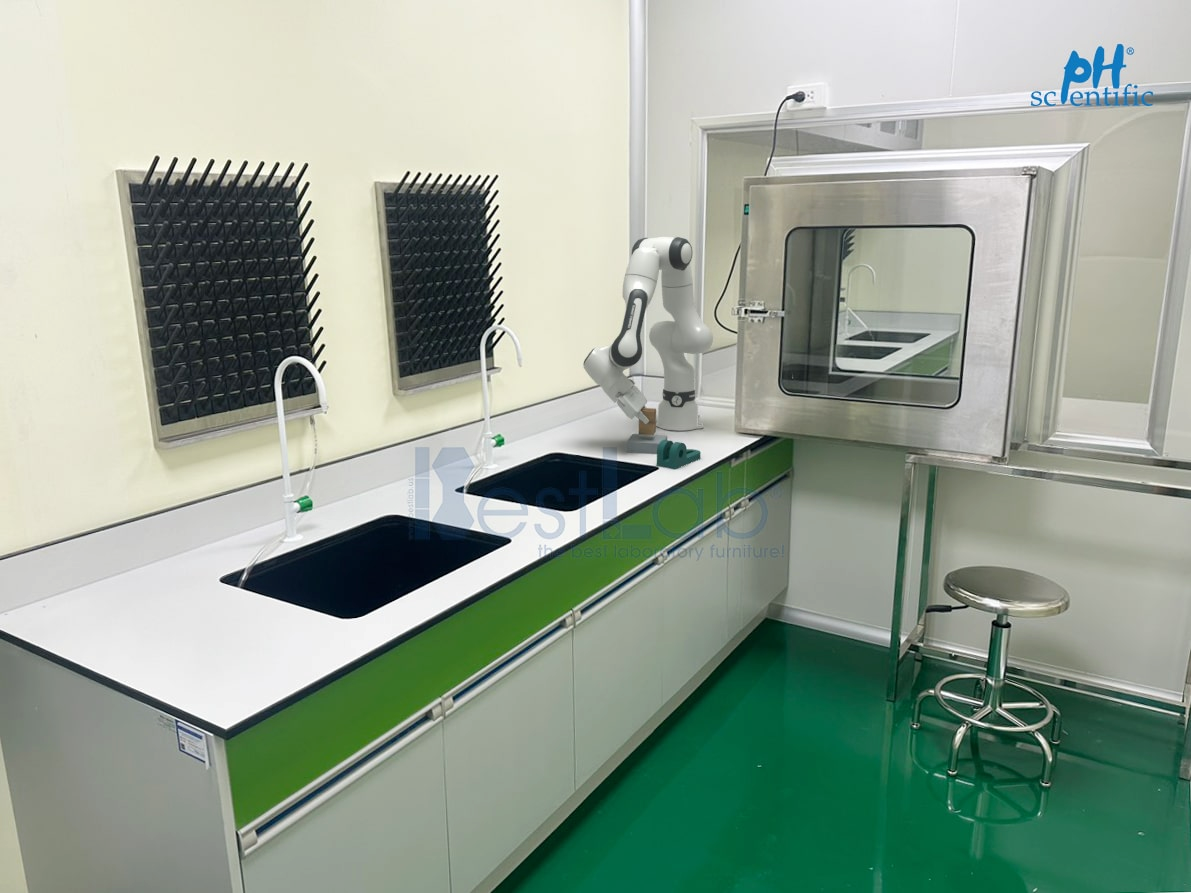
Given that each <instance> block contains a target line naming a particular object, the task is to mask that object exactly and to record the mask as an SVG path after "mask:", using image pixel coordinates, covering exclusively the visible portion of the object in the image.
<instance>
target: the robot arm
mask: <svg viewBox="0 0 1191 893" xmlns="http://www.w3.org/2000/svg"><path fill="white" fill-rule="evenodd" d="M692 259H693V247H692V244H691V243H690V241H689V240H688V239H686V238H683V237H679V236H678V237H677V236H676V237H674V236H673V237H672V236H658V237H643V238H639V239H637V240H636V242H635V243H634V244H633V246H632V248H631V257H630V259H629V261H628V264H627V267H626V271H625V275H624V277H623V283H622V298H623V300H624V303H625V313H624V317H623V320H622V325H621V330H620V333H619V334H618V336H617V337H616V338H615V339H614V340H613V342H612V343H610V344H609V345H606V346H602V347H594V348H592V349H591V350H590V352H589V353H588V355H587V356H586V357H585V358H584V361H583V369H584V370H585V372H586V374H588V376H589V377H590V379H592V380H593V382H594V383H595V384H596V385H598V386H600V387H601V388H602V390H603V392H604V393H605V394H606V396H607V397H609V399H611V401H613V403H614V404H615V403H616V404H617V406H618V407H619V408H620V410H621V411H622V412H623V413H624V414H625V415H626V417H627V418H629V419H631V420H632V419H633V418H634V417H636V418H637V419H638V420H639V419H640V420H641V421H643V423H644V424H647V423H648V422H649V419H648V418H647V417H646V416H645V415H644V414H642V412H641V411H640V410H641V409H642V408H648V407H647V406H646V404H647V403H648V399H647V397H646V396H645V395H644V394H643V393H642V391H641V390H640V389H639V388H638V386H636V383H635V381H633V379H631V378H628V377H627V375H625V374H624V372H625V370H627V369H629V368H631V367H632V366H635V365H636V364H637V363H638V362H639V361H640V360H641V357H642V355H643V346H642V345H643V344H642V339H641V332H642V328H643V323H644V318H645V314H646V311H647V308H648V307H649V305H650V304H651V301H652V299H653V297H654V294H655V292H656V288H657V284H658V279H659V274H660V273H659V271H661V275H660V276H661V293H662V294H661V295H662V306H663V308H664V309H665V311H666V312H668V314H670V315H671V317H672V319H673V320H664V321H657V322H655V323H653V325H652V326H651V328H649V335H648V337H649V343H650V344H651V345H652V347H653V348H654V349H656V351H657V354H658V355H659V357H660V359H661V362H662V366H663V376H664V377H663V381H664V383H663V384H664V385H663V387H664V388H663V389H662V401H661V402H660V403H658V408H657V419H656V428H660V429H663V430H668V431H692V430H699V429H704V424H703V422H702V420H701V418H700V414H699V405H698V403H696V401H695V400H696V389H695V368H694V366H693V365H692V364H691V363H690V362H688V360H687V359H686V356H685V354H691V355H695V354H704V353H706V352H708V351H709V350H710V349H711V346H713V345H712V344H713V340H714V336H713V333H712V330H711V329H710V328H709V327H708V326H707V325H706V324H705V323H704V322H703V320H702V318H701V317H700V315H699V312H698V311H697V308H696V305H695V304H696V303H695V296H694V295H695V294H694V286H693V285H694V284H693V275H692V267H691V261H692Z"/></svg>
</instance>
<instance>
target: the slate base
mask: <svg viewBox="0 0 1191 893" xmlns="http://www.w3.org/2000/svg"><path fill="white" fill-rule="evenodd" d="M662 440H668V435H667V434H665V435H664V434H654V435H641V434H639V433H631V435H630V436H629V438H628V439H627V440H626V443H625V448H626V449H625V451H626V452H625V453H632V454H649V455H650V454H651V455H657V448H658V445H659V443H660V442H661V441H662Z"/></svg>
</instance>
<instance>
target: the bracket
mask: <svg viewBox="0 0 1191 893" xmlns="http://www.w3.org/2000/svg"><path fill="white" fill-rule="evenodd" d="M698 459H699V460H700V459H701V451H700V450H698V449H692V448H691V449H689V448H687V446H686V443H684V442H680V441H675V442H673V440H668V439H667V440H662V441H661V442H660V443H659V445H658V448H657V454H656V467H661V468H664V469H665V468H666V469H670V470H671V469H672V470H678V469H680V468H682V467H685V466H687V465H689V464H691V462H692V463H694V462H696V460H697V461H699V460H698ZM686 464H687V465H686ZM684 465H685V466H684ZM681 466H682V467H681ZM679 467H680V468H679Z"/></svg>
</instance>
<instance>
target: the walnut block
mask: <svg viewBox="0 0 1191 893" xmlns="http://www.w3.org/2000/svg"><path fill="white" fill-rule="evenodd" d="M640 411H641V412H642V414H644V415H645V416H646V417H647V418H648V419H649V422H648V423H647V424H644V423H643V421H641V420H640V419H638V434H641V435H656V432H657V426H656V421H657V408H656V407H655V408H653V407H652V408H650V407H647V408H642V409H641V410H640Z"/></svg>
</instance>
